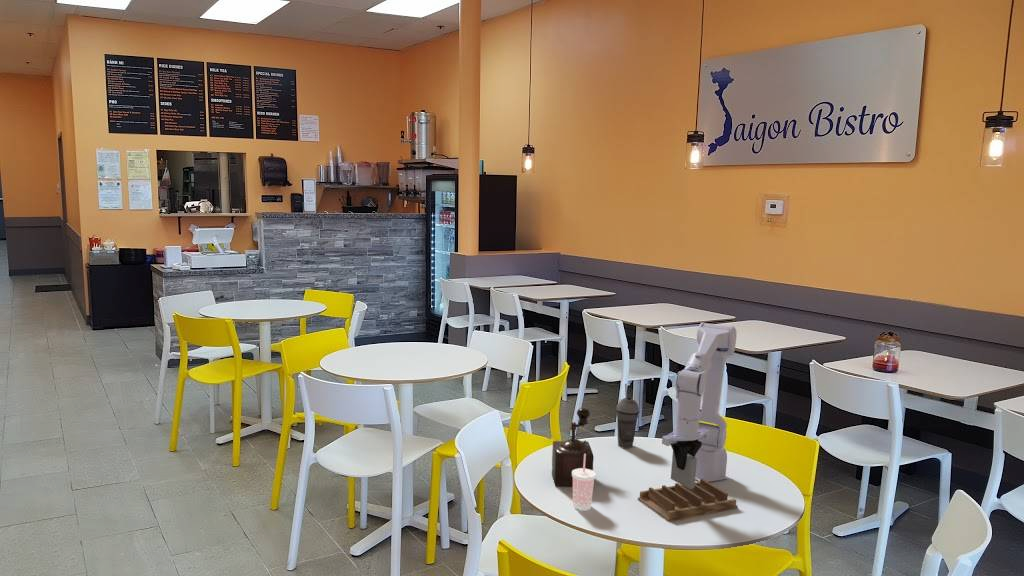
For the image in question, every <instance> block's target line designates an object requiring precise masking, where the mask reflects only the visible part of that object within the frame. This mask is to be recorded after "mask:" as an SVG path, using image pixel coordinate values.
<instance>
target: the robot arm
mask: <svg viewBox="0 0 1024 576" xmlns="http://www.w3.org/2000/svg"><path fill="white" fill-rule="evenodd" d="M736 341H737V329H736V327H735V326H733V325H731V326H729V325H721V324H715V323H707V322H704V321H703V322H701V323H700V324H698V327H697V332H696V342H697V343H698V348H697V352H694V353H692V354H691V355H690V357H689V359H688V360H687V362H686V365H685V367H684V369H682V370H679V371H678V372H677V374H676V378H675V397H676V400H677V404H676V417H675V418H676V419H675V428H673V431H672V432H670V433H668V434H667V435H663V436H662V437H661V438H662V439H661V444H662V445H664V446H666V447H669V446H670V447H671V449H672V453H673V452H674V455H675V459H676V464H677V468H679V469H681V470H684V469H685V465H686V458H687V454H690V455H692V456H694V457H696V458H697V465H696V476H695V481H696V482H700V479H704V480H706V481H707V482H709V483H710V482H715V481H717V482H718V481H722V480H727V479H728V476H726V475H727V464H728V453H727V450H726V448H725V445H726V440H727V433H728V432H727V425H728V424H727V421H726V420H725V419H724V418H723V417H722V415H720V413H719V410H720V409H719V407H720V404H721V403H720V401H721V395H722V387H723V381H724V380H723V379H724V375H725V374H724V373H725V366H726V362H727V359H728V357H731V356H734V353H735V350H736V349H735V348H736V344H737V343H736ZM702 395H703V396H702ZM701 400H702V401H701ZM701 402H702V403H701ZM701 404H702V405H701Z"/></svg>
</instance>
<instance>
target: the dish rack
mask: <svg viewBox="0 0 1024 576" xmlns="http://www.w3.org/2000/svg"><path fill="white" fill-rule="evenodd" d="M637 501H638V502H640V503H642V504H643V505H645V506H646V507H647V508H649V510H651V511H652V512H654V513H656V514H657V515H658V516H660V517H661V518H662V519H664V520H665V521H666V522H673V521H677V520H683V519H688V518H694V517H698V516H704V515H710V514H715V513H720V512H724V511H729V510H733V509H735V510H736V509H738V505H737V499H736V498H731V499H729V493H727V492H725V491H724V490H723V489H721V488H719V487H717V486H716V485H715V484H713V483H710V482H707V481H706V480H704V479H700V482H699V481H695V487H694V488H693V489H688V488H687V487H685V486H683V485H681V484H679V483H678V482H675V484H674V485H672V486H667V485H666V484H665V485H664V484H663V485H661V487H659V488H653V487H648V490H642V491H639V497H637Z"/></svg>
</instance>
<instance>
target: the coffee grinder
mask: <svg viewBox="0 0 1024 576" xmlns="http://www.w3.org/2000/svg"><path fill="white" fill-rule="evenodd" d="M576 415H577V417H578V418H579V420H578V422H577V423H576V422H575V421H572V422H571V425H570V426H569V429H570V430H571V438H570V439H566V440H558V441H557V440H554V441H552V449H551V451H552V452H551V453H552V456H551V459H552V460H551V477H552V481H553V480H554V481H553V483H554V486H555V487H559V488H573V477H572V471H573V470H574V469H578V468H583V463H584V454H586V460H585V469H590V470H592V471H594V454H593V453H594V452H593V450H592V448H591V445H590V442H589V441H586V440H580V439H578V438H577V439H576V430H577V428H579V427H584V426H585V425H589V422H588V419H589V417H590V416H591V411H590V410H589V409H588V408H586V407H581V408H579V409H578V410H577V411H576Z"/></svg>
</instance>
